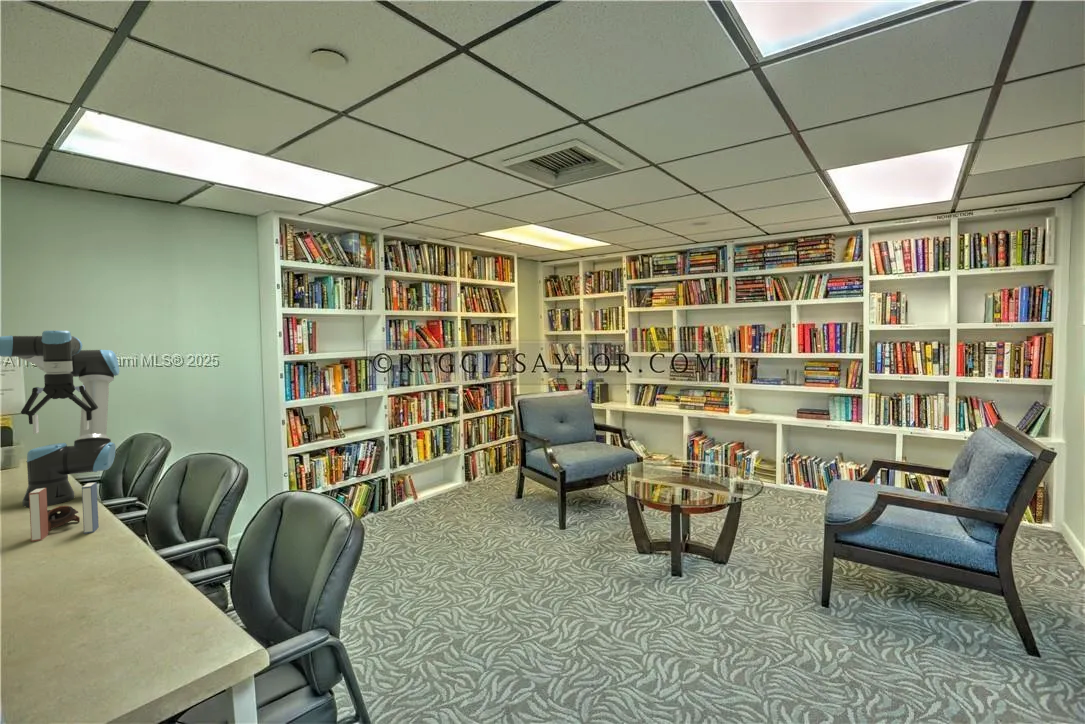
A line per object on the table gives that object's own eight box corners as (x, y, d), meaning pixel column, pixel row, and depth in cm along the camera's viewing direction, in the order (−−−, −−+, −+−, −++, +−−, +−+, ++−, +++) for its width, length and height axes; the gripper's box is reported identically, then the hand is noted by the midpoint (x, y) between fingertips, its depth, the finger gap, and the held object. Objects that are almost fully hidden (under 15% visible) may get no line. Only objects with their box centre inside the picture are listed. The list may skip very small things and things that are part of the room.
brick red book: (38, 535, 169) (36, 488, 169) (48, 534, 170) (46, 487, 170) (31, 541, 164) (28, 493, 163) (41, 540, 165) (39, 491, 164)
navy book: (89, 528, 175) (87, 483, 175) (98, 527, 177) (96, 481, 176) (83, 534, 170) (81, 487, 170) (93, 532, 171) (91, 486, 171)
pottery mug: (90, 521, 183) (83, 505, 178) (65, 542, 174) (57, 525, 170) (59, 514, 183) (51, 498, 179) (32, 534, 175) (24, 518, 171)
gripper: (5, 375, 171) (9, 436, 172) (100, 372, 184) (103, 429, 185) (15, 373, 178) (18, 432, 179) (106, 371, 190) (108, 426, 191)
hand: (61, 431), depth 182 cm, fingers open, 13 cm apart
